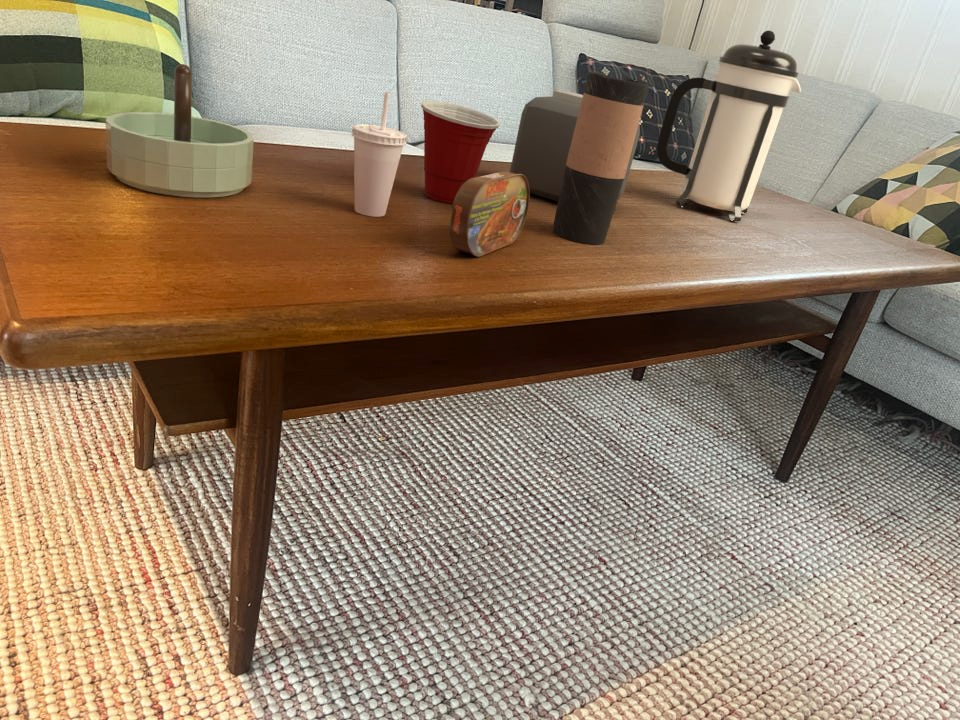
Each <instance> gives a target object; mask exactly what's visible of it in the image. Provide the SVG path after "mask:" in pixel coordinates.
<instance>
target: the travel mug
mask: <svg viewBox="0 0 960 720" xmlns="http://www.w3.org/2000/svg"><path fill="white" fill-rule="evenodd" d="M648 90H649V83H647V82H643V81H640V80H636V79H631V78H623V79H620V78H615V77H611V76H607V75H606V74H605V73H602V72H600V71H599V72H598V71H591V70H590V71H589V72H588V74H587V78H586V83H585V87H584V89H583V94H582V95H583V98H582V102H581V106H580V110H579V114H578V118H577V122H576V126H575V130H574V134H573V138H572V142H571V146H570V150H569V154H568V158H567V162H566V167H565V171H564V176H563V181H562V186H561V191H560V195H559V200H558V202H557V206H556V211H555V216H554V221H553V226H552V232H553V233H555V234H556V235H557V236H559V237H560V238H563V239H566V240H568V241H571V242H575V243H581V244H586V245H603V244H604V243H605V241H606V238H607V235H608V232H609V229H610V226H611V223H612V220H613V216H614V213H615V210H616V207H617V204H618V197H619V194H620V190H621V187H622V184H623V181H624V177H625V174H626V170H627V166H628V162H629V158H630V155H631V151H632V147H633V143H634V140H635V136H636V132H637V128H638V124H639V125H640V120H641V117H642V113H643V109H644V105H645V103H646V98H647V94H648Z"/></svg>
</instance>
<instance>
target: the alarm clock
mask: <svg viewBox="0 0 960 720" xmlns="http://www.w3.org/2000/svg"><path fill="white" fill-rule="evenodd" d="M582 98H583V94H580V93H576V92H572V91H568V90H563V89H554V90H553V92H552V96H534V98H532V99H530V100H529V101H528V102H527V103H525V105H524V107H523V110H522V111H521V116H520V121H519V125H518V130H517V134H516V139H515V145H514V150H513V155H512V160H511V165H510V169H509V172H510V173H514V174H522V175H524V176H525V177H526V179H527V181H528V184H529V190H530V195H534V196H536V197H537V196H538V197H541V198H544V199H547V200H550V201H554V202H556V203H558V200H559V195H560V191H561V186H562V181H563V176H564V171H565V167H566V162H567V158H568V154H569V150H570V146H571V142H572V138H573V134H574V130H575V126H576V122H577V118H578V114H579V110H580V106H581V102H582ZM640 132H641V125H640V123H639V124H638V128H637V132H636V136H635V140H634V143H633V147H632V151H631V155H630V158H629V162H628V166H627V170H626V174H625V177H624V181H623V184H622V187H621V190H620V194H619V197H618V200H621V197H622V196H623V194H624V192H625V189H626V186H627V182H628V179H629V175H630V171H631V168H632V164H633V161H634V157H635V153H636V149H637V146H638V142H639V138H640V135H641V134H640ZM618 200H617V201H618Z"/></svg>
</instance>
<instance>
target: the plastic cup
mask: <svg viewBox="0 0 960 720" xmlns="http://www.w3.org/2000/svg"><path fill="white" fill-rule="evenodd" d="M420 105H421V107H420V108H421V109H422V114H423V129H424V134H423V135H424V138H423V139H424V140H423V141H424V142H423V144H424V146H423V147H424V148H423V170H424V190H425V191H424V192H425V194H424V195H425V196H426V197H427V198H429V199H431V200H433V201H437V202H441V203H446V204H452V205H453V202H454V199H455V196H456V194H457V192H458V191H459V189H460V187H461V186H462V185H463V184H464V183H465V182H466V181H467V180H469V179H471V178H475V177H477V173H478V170H479V167H480V164H481V162H482V160H483V157H484V154H485V152H486V149H487V145H489V142H490V140H491V138H492V136H493V134H494V133H495V131H496V129H499V127H500V126H501V125H500V124H501V122H500V121H499V120H498V119H497V118H495V117H493V116H491V115H488V114H487V113H484V112H483V111H482V112H481V111H479V110H475V109H473V108H470V107H467V106H462V105H458V104H454V103H449V102H445V101H438V100H423V101H422V102H421V104H420Z"/></svg>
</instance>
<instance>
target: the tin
mask: <svg viewBox="0 0 960 720" xmlns="http://www.w3.org/2000/svg"><path fill="white" fill-rule="evenodd" d="M530 195H531V194H530V190H529V184H528V181H527V179H526V177H525V176H524V175H522V174H514V173H510V171H497V172H493V173H490V174H485V175H480V176H475V178H471V179H469V180H467V181H466V182H465V183H464V184H463V185H462V186H461V187H460V189H459V191H458V192H457V194H456V196H455V199H454V202H453V204H452V209H451V210H452V211H451V216H450V227H449V238H450V241H451V244H452V246H453V247H454V248H455V249H456V250H457V251H459V252H462V253H466V254H469V255H472V256H474V257H476V258H481V257H483V256H485V255H488V254H490V253H492V252H493V253H494V252H495V251H498V250H500V249H503V248H505V247H507V246H510V245H512V244H513V243H514V242H516V240H517V239H518V237H519V236H520V234H521V232H522V230H523V228H524V225H525V223H526V220H527V215H528V212H529V208H530V207H529V206H530V197H531V196H530Z"/></svg>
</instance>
